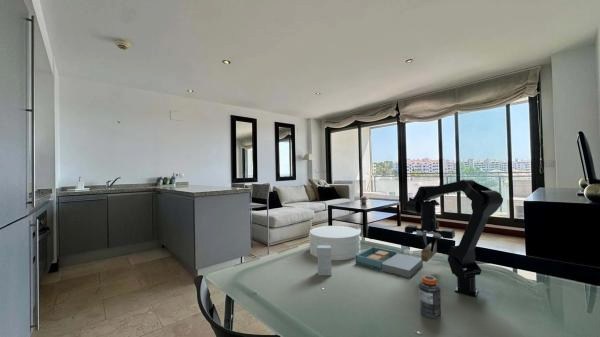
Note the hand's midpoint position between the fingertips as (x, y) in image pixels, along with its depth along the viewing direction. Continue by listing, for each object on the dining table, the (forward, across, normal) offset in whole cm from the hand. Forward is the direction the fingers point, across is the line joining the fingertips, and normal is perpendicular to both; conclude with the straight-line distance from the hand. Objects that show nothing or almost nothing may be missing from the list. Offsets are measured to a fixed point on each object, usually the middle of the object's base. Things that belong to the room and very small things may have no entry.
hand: (429, 251), depth 109 cm
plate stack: (+10, +50, -1) cm, 51 cm away
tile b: (+8, +23, -4) cm, 25 cm away
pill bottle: (+10, -8, +32) cm, 34 cm away
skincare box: (+10, +36, +28) cm, 46 cm away
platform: (+10, +12, 0) cm, 15 cm away
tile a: (+8, +23, +4) cm, 25 cm away
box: (+10, +24, 0) cm, 26 cm away
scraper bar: (+2, 0, 0) cm, 2 cm away
